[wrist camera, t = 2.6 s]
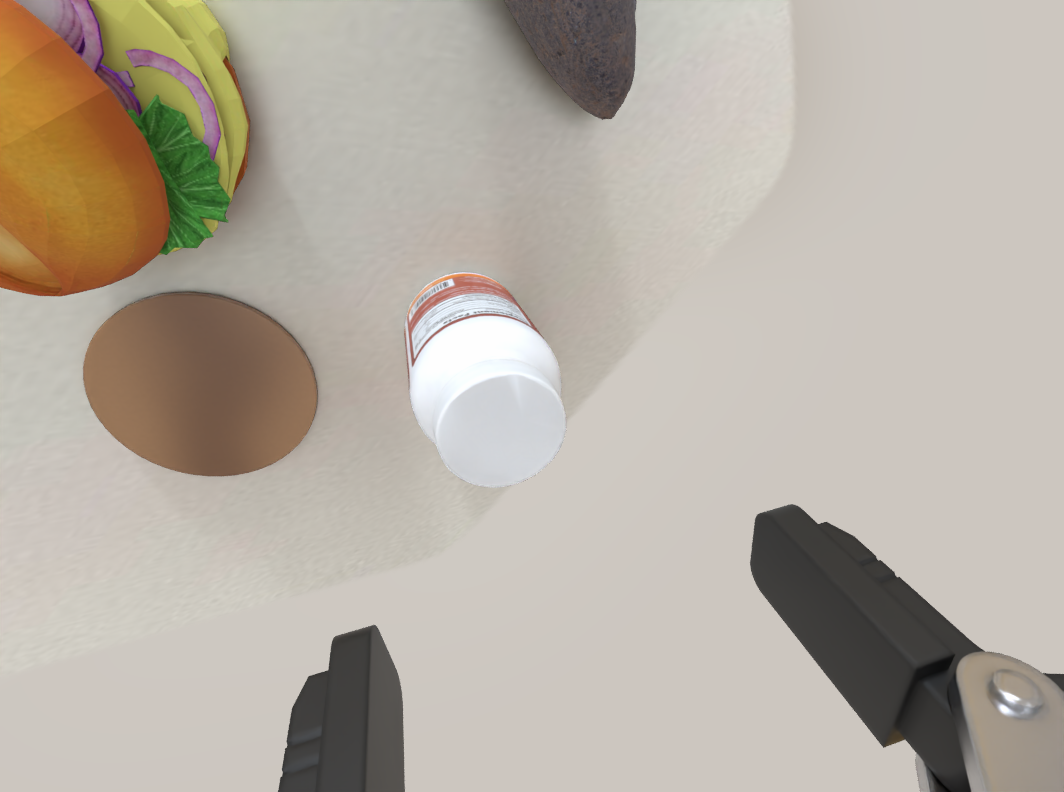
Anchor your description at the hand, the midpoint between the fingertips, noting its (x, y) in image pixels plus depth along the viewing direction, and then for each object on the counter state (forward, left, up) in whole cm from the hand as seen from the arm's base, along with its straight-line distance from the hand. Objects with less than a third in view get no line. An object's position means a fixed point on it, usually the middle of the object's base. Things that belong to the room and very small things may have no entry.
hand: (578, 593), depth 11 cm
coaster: (-13, -2, -19) cm, 23 cm away
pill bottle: (0, -1, -19) cm, 19 cm away
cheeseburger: (-12, +10, -19) cm, 25 cm away
